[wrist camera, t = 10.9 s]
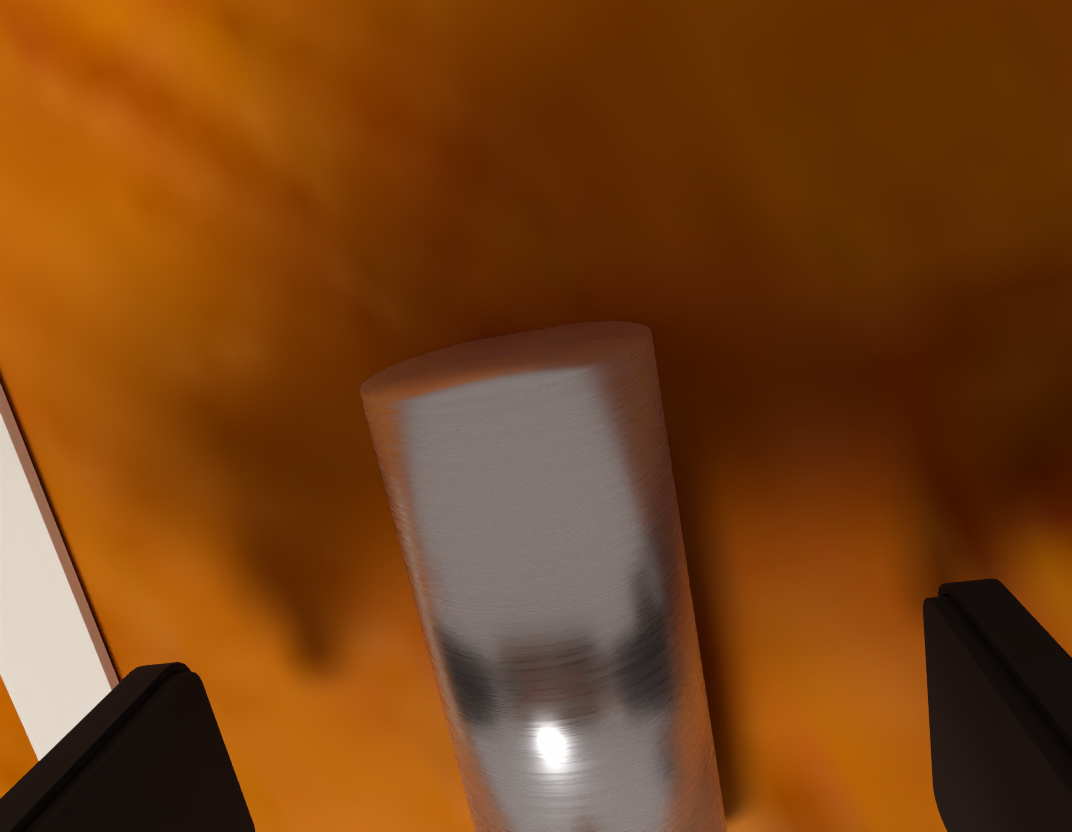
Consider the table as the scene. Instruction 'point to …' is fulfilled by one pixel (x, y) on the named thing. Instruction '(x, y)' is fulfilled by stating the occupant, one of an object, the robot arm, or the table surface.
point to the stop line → (42, 608)
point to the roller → (552, 577)
